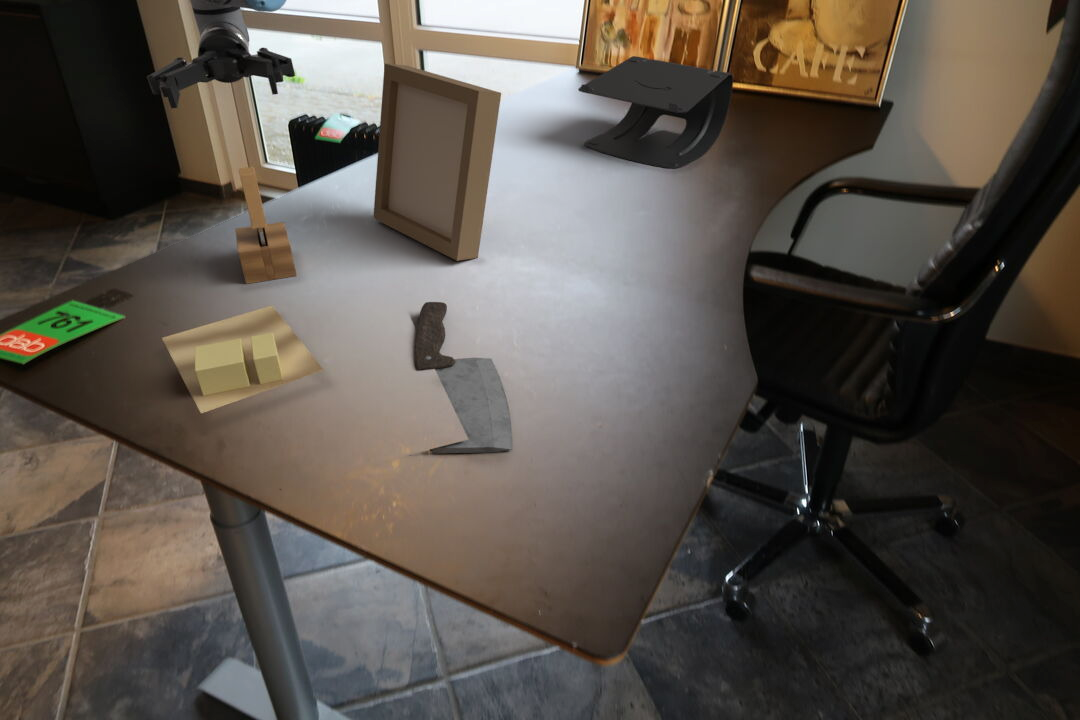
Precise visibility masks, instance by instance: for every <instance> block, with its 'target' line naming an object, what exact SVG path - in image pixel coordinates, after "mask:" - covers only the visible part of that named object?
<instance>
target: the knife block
mask: <svg viewBox="0 0 1080 720" xmlns="http://www.w3.org/2000/svg"><path fill="white" fill-rule="evenodd" d="M266 224H267V227H264V228H262V229H263V233H264V238H265V242H266V246H264V247H262V243H261V239H260V235H259V230H258V228H257V229H253V228H252V225H250V226H244V227H237V228H236V227H235V228H234V230H235V238H236V247H237V253H238V258H239V262H240V266H241V269H242V274H243V277H244V280H245V284H246V285H248V284H249V285H250V284H254V283H261V282H267V281H274V280H279V279H285V278H291V277H297V271H296V267H295V261H294V257H293V252H292V247H291V243H290V239H289V235H288V231H287V227H286V224H285V221H279V222H273V223H272V222H271V223H266Z"/></svg>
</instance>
